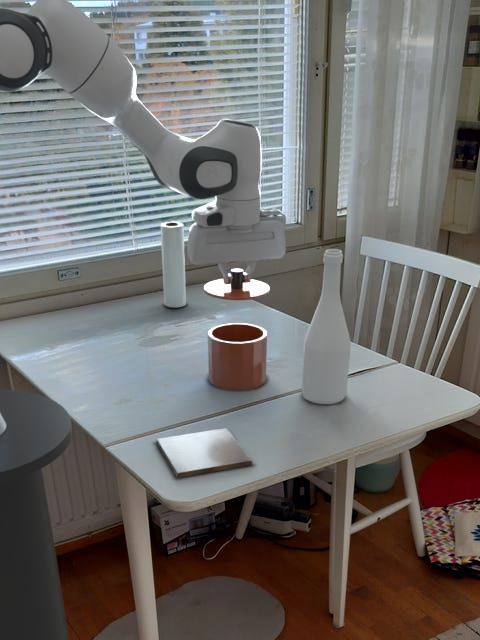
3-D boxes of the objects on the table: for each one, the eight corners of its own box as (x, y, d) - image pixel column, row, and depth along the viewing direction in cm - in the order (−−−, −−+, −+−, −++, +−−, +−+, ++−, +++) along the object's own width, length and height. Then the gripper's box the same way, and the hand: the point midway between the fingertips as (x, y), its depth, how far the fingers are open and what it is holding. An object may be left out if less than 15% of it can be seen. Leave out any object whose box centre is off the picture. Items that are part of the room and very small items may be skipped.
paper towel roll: (177, 309, 213) (174, 227, 201) (159, 305, 216) (155, 224, 204) (192, 302, 218) (190, 222, 206) (175, 299, 221) (172, 219, 209)
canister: (219, 393, 167) (219, 346, 161) (201, 372, 177) (200, 326, 171) (274, 385, 171) (275, 339, 165) (253, 365, 180) (254, 320, 174)
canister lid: (216, 306, 155) (216, 282, 153) (195, 286, 166) (195, 264, 163) (279, 299, 159) (280, 276, 157) (255, 281, 170) (256, 259, 167)
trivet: (177, 478, 137) (177, 473, 136) (156, 443, 148) (156, 438, 147) (252, 465, 141) (252, 460, 140) (226, 432, 152) (226, 427, 151)
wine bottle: (304, 385, 171) (312, 243, 154) (348, 389, 169) (360, 246, 152) (297, 403, 163) (305, 255, 146) (343, 407, 161) (356, 258, 145)
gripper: (280, 205, 159) (277, 274, 167) (184, 211, 153) (185, 282, 161) (292, 212, 154) (289, 282, 162) (193, 218, 148) (194, 291, 156)
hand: (236, 283), depth 162 cm, fingers closed on canister lid, 2 cm apart
